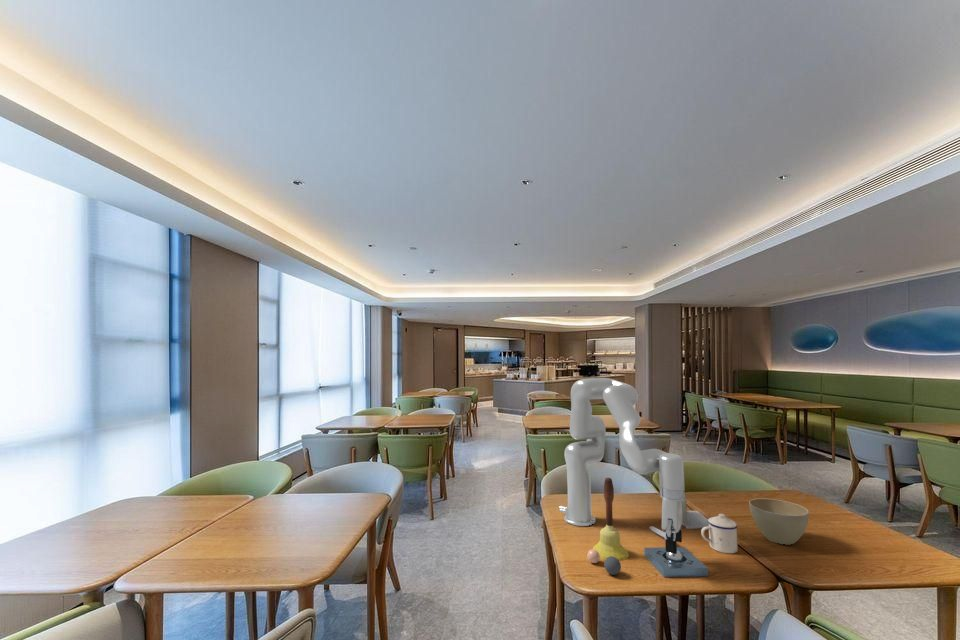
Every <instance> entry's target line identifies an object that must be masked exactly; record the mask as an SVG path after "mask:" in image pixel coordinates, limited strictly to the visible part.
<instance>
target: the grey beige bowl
mask: <svg viewBox="0 0 960 640" xmlns="http://www.w3.org/2000/svg"><path fill="white" fill-rule="evenodd" d="M748 504H749V510H750V513H751V515H752V518H753V520H754V523H755V524H756V526H757V528H758V530H759V531H760V532H761V533H762V535H763V536H764V537H765V538H766V539H767V540H769V541H770V542H772V543H776V544H778V543H779V545H783V544H785V545H786V546H787V545H791V544H792V545H794V544H795V543H796V542H797V541H799V540H800V539H801V538H802V536H803V535H804V533H805V531H806V529H807V526H808V523H809V518H810V517H809V516H810V515H809V509H807V508H806V507H804V506H802V505H800V504H798V503H795V502H794V503H793V502H790V501H787V500H786V501H785V500H780V499H773V498H763V497H761V498H753V499H751V500H749V501H748Z"/></svg>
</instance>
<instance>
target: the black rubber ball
mask: <svg viewBox="0 0 960 640" xmlns="http://www.w3.org/2000/svg"><path fill="white" fill-rule="evenodd" d="M603 566H604V569H605V571H606V572H607V573H608V574H610V575H613V576H615V575H617V574H619V573H620V572H621V569H622V565H621V562H620V561H619V560H618V559H617V558H615V557H613V556H610V557H607V558H606V559H604V563H603Z"/></svg>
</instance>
